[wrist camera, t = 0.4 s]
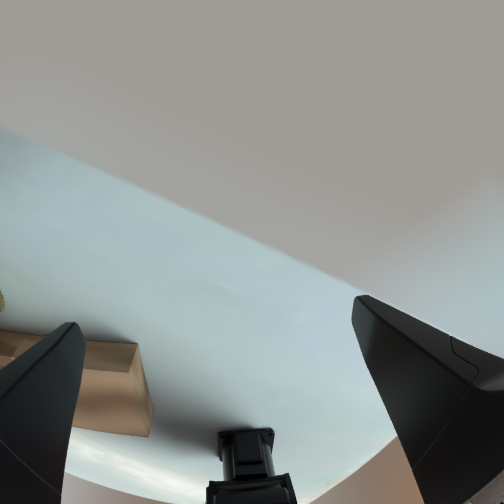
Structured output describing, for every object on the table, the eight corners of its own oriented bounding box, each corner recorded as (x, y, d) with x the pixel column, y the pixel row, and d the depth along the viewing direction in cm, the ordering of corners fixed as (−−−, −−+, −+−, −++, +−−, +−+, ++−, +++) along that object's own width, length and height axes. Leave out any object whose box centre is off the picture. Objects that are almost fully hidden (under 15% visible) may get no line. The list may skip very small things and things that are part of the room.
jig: (153, 408, 29) (148, 437, 25) (9, 386, 27) (-4, 406, 23) (138, 343, 26) (128, 372, 22) (-18, 326, 24) (-36, 346, 20)
